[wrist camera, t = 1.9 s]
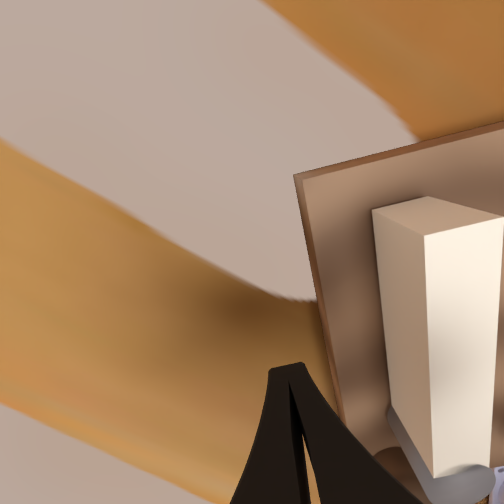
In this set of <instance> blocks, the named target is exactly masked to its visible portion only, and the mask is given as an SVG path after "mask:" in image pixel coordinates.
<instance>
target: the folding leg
mask: <svg viewBox="0 0 504 504" xmlns="http://www.w3.org/2000/svg"><path fill="white" fill-rule="evenodd" d="M372 217H373V227H374V237H375V247H376V256H377V266H378V276H379V286H380V295H381V305H382V315H383V325H384V334H385V344H386V354H387V364H388V373H389V383H390V393H391V403H392V406H391V407H390V409H389V411H388V414H387V420H388V423H389V425H390V427H391V429H392V431H393V432H394V434H395V436H396V438H397V440H398V442H399V444H400V446H401V448H402V450H403V452H404V453H405V455H406V457H407V459H408V461H409V463H410V465H411V467H412V469H413V471H414V473H415V474H416V476H417V478H418V480H419V482H420V484H421V486H422V488H423V490H424V492H425V493H426V495H427V497H428V499H429V501H430V502H431V503H432V504H475V503H477V502H479V501H481V500H482V499H484V498H485V497H486V496H487V495H488V494H489V493H490V492H491V491H492V490H493V488H494V486H495V483H496V477H495V474H494V472H493V471H492V470H491V468H490V467H489V462H490V445H491V429H492V412H493V396H494V379H495V363H496V346H497V330H498V313H499V297H500V280H501V264H502V247H503V231H504V217H503V216H499V215H496V214H492V213H488V212H485V211H481V210H477V209H474V208H470V207H466V206H462V205H459V204H455V203H451V202H448V201H444V200H440V199H437V198H433V197H429V196H426V197H422V198H418V199H414V200H410V201H406V202H402V203H398V204H394V205H389V206H385V207H381V208H377V209H373V210H372Z"/></svg>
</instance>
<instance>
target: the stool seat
mask: <svg viewBox="0 0 504 504" xmlns="http://www.w3.org/2000/svg"><path fill="white" fill-rule="evenodd" d="M293 177H294V182H295V187H296V193H297V198H298V203H299V208H300V213H301V219H302V224H303V229H304V235H305V240H306V245H307V250H308V255H309V261H310V266H311V271H312V276H313V282H314V287H315V292H316V297H317V303H318V308H319V313H320V318H321V324H322V329H323V334H324V339H325V345H326V350H327V355H328V360H329V366H330V371H331V376H332V381H333V386H334V392H335V397H336V402H337V407H338V413H339V418H340V420H341V421H342V422H343V423H344V425H345V426H346V427H347V428H348V429H349V430H350V432H351V433H352V434H353V435H354V436H355V437H356V439H357V440H358V441H359V442H360V443H361V444H362V445H363V446H364V447H365V448H366V449H367V450H368V452H369V453H370V454H371V455H372V456H373V457H374V458H375V459H376V460H377V461H378V462H379V463H380V464H381V465H382V466H383V467H384V468H385V469H386V470H387V471H389V472H390V473H391V474H392V475H393V476H394V477H395V478H396V479H397V480H398V481H399V482H400V483H401V484H402V485H403V486H405V487H406V488H407V489H408V490H409V491H410V492H411V493H412V494H413V495H414V496H416V497H417V498H418V499H419V500H420V501H421V502H422V503H424V504H432V503H431V502H430V501H429V499H428V497H427V495H426V493H425V492H424V490H423V488H422V486H421V484H420V482H419V480H418V478H417V476H416V474H415V473H414V471H413V469H412V467H411V465H410V463H409V461H408V459H407V457H406V455H405V453H404V452H403V450H402V448H401V446H400V444H399V442H398V440H397V438H396V436H395V434H394V432H393V431H392V429H391V427H390V425H389V423H388V420H387V414H388V411H389V409H390V407H391V406H392V403H391V393H390V383H389V373H388V364H387V354H386V344H385V334H384V325H383V315H382V305H381V295H380V286H379V276H378V266H377V256H376V247H375V237H374V227H373V217H372V210H373V209H377V208H381V207H385V206H389V205H394V204H398V203H402V202H406V201H410V200H414V199H418V198H422V197H426V196H429V197H433V198H437V199H440V200H444V201H448V202H451V203H455V204H459V205H462V206H466V207H470V208H474V209H477V210H481V211H485V212H488V213H492V214H496V215H499V216H503V217H504V121H502V122H498V123H494V124H490V125H486V126H482V127H478V128H474V129H471V130H467V131H463V132H459V133H455V134H451V135H447V136H443V137H439V138H435V139H431V140H427V141H423V142H419V143H416V144H412V145H408V146H404V147H400V148H396V149H392V150H388V151H384V152H380V153H377V154H372V155H368V156H365V157H361V158H357V159H353V160H349V161H345V162H341V163H337V164H333V165H329V166H325V167H321V168H318V169H314V170H310V171H306V172H302V173H298V174H294V175H293ZM501 466H504V231H503V247H502V264H501V280H500V297H499V313H498V330H497V346H496V363H495V379H494V396H493V412H492V429H491V445H490V462H489V467H490V468H496V467H501Z"/></svg>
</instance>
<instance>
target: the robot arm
mask: <svg viewBox="0 0 504 504" xmlns="http://www.w3.org/2000/svg"><path fill="white" fill-rule="evenodd" d="M302 434H303V437H304V441H305V444H306V447H307V450H308V454H309V457H310V460H311V464H312V467H313V470H314V474H315V478H316V483H317V487H318V492H319V497H320V502H321V504H424V503H422V502H421V501H420V500H419V499H418V498H417V497H416V496H414V495H413V494H412V493H411V492H410V491H409V490H408V489H407V488H406V487H405V486H403V485H402V484H401V483H400V482H399V481H398V480H397V479H396V478H395V477H394V476H393V475H392V474H391V473H390V472H389V471H387V470H386V469H385V468H384V467H383V466H382V465H381V464H380V463H379V462H378V461H377V460H376V459H375V458H374V457H373V456H372V455H371V454H370V453H369V452H368V450H367V449H366V448H365V447H364V446H363V445H362V444H361V443H360V442H359V441H358V440H357V439H356V437H355V436H354V435H353V434H352V433H351V432H350V430H349V429H348V428H347V427H346V426H345V425H344V423H343V422H342V421H341V420H340V418H339V417H338V416H337V415H336V413H335V412H334V411H333V409H332V408H331V407H330V405H329V404H328V403H327V401H326V400H325V398H324V397H323V396H322V394H321V393H320V391H319V390H318V388H317V386H316V385H315V383H314V382H313V380H312V378H311V376H310V375H309V373H308V371H307V368H306V366H305V364H304V363H302V362H298V363H294V364H289V365H285V366H280V367H276V368H271V369H270V370H269V372H268V384H267V391H266V396H265V402H264V406H263V410H262V415H261V419H260V423H259V426H258V429H257V433H256V436H255V440H254V443H253V446H252V449H251V452H250V455H249V458H248V460H247V463H246V466H245V468H244V471H243V474H242V476H241V479H240V481H239V483H238V486H237V488H236V490H235V493H234V495H233V497H232V500H231V502H230V504H311V500H310V492H309V484H308V476H307V469H306V461H305V453H304V445H303V437H302ZM491 470H492V471H493V472H494V474H495V477H496V483H495V486H494V488H493V490H492V491H491V492H490V493H489V504H504V466H501V467H496V468H491Z"/></svg>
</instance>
